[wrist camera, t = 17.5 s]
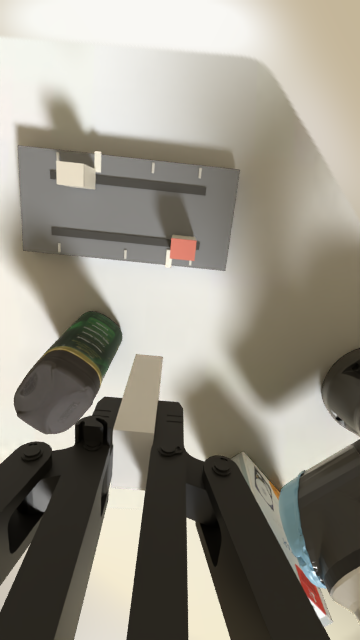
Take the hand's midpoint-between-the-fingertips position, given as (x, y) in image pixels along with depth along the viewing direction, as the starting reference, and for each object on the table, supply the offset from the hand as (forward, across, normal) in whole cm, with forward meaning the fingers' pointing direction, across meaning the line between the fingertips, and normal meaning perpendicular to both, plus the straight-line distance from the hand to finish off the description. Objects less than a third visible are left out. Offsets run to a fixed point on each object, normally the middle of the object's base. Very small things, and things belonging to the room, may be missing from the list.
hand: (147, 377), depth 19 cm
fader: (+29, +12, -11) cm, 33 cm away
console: (+32, +6, -8) cm, 34 cm away
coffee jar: (+33, +11, +12) cm, 36 cm away
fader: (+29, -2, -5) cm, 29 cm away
